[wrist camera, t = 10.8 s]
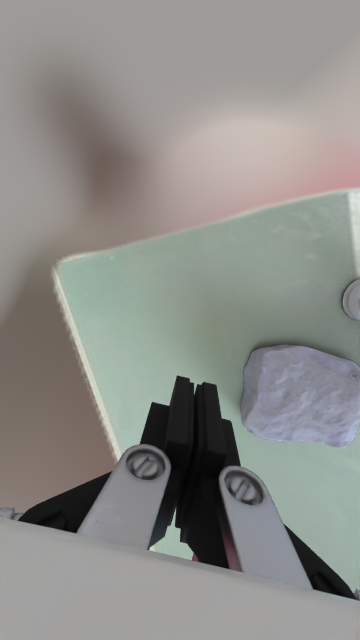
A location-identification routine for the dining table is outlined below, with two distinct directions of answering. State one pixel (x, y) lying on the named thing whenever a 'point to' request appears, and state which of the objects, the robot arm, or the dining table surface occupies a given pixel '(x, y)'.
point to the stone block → (301, 396)
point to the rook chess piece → (352, 300)
